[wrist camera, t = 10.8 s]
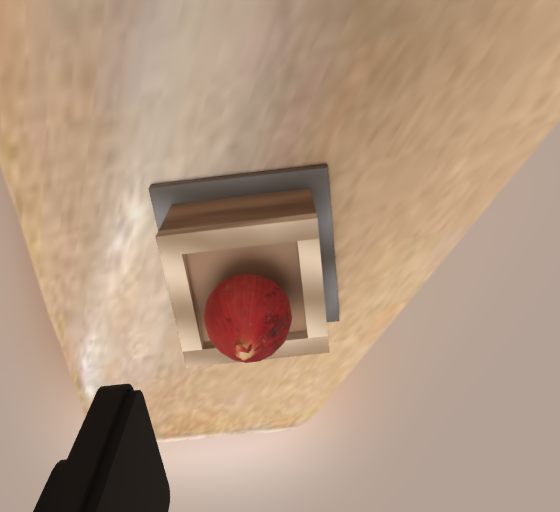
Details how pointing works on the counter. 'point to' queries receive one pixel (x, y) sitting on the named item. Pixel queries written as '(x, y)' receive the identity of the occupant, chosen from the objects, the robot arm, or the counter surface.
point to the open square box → (249, 250)
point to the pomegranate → (247, 317)
